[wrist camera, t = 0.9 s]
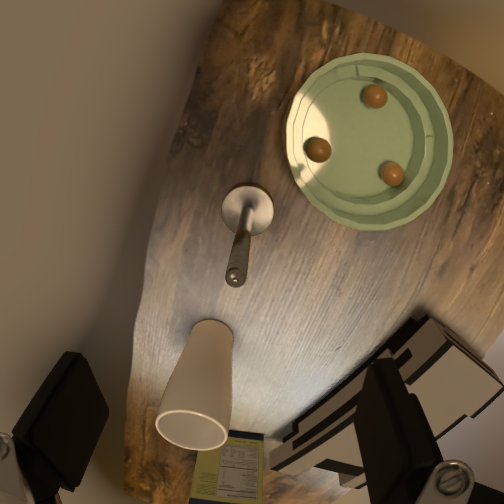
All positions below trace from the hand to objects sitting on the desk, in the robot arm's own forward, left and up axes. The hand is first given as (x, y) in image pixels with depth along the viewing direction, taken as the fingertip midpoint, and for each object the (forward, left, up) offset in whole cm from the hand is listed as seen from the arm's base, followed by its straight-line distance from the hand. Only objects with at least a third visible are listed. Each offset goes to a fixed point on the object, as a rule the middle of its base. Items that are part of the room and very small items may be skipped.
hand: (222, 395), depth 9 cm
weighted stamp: (0, 0, -25) cm, 25 cm away
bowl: (-7, +11, -25) cm, 28 cm away
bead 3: (-3, +14, -23) cm, 27 cm away
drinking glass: (+16, -5, -25) cm, 30 cm away
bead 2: (-11, +12, -23) cm, 28 cm away
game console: (+31, +20, -25) cm, 45 cm away
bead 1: (-5, +6, -23) cm, 24 cm away
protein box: (+44, -5, -25) cm, 51 cm away
